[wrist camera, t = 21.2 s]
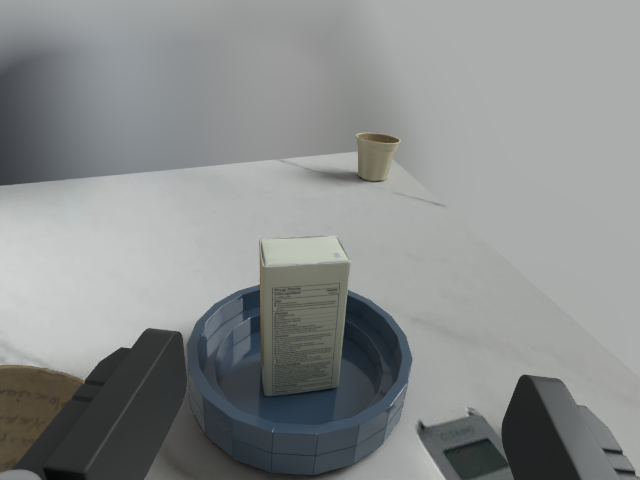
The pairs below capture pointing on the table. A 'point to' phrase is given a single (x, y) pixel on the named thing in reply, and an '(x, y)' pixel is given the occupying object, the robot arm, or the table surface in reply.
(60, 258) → the table surface
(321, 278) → the cosmetic box
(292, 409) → the serving bowl
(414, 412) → the table surface
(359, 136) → the flower pot
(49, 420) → the bowl
